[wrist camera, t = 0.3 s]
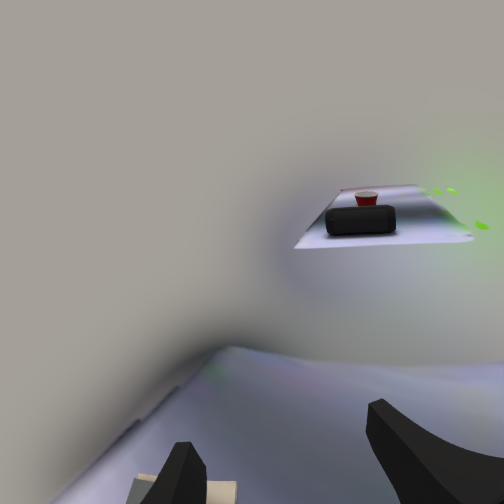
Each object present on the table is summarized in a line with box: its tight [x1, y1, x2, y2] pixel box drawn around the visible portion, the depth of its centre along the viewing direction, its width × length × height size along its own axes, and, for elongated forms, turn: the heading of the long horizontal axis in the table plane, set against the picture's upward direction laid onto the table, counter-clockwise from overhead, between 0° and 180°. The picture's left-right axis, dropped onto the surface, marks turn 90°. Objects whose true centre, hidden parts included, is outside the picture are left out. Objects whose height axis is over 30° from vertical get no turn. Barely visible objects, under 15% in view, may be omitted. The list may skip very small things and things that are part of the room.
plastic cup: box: [354, 191, 379, 206], centre depth 112 cm, size 11×11×12 cm
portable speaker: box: [325, 205, 396, 235], centre depth 98 cm, size 26×10×10 cm, turn 68°
